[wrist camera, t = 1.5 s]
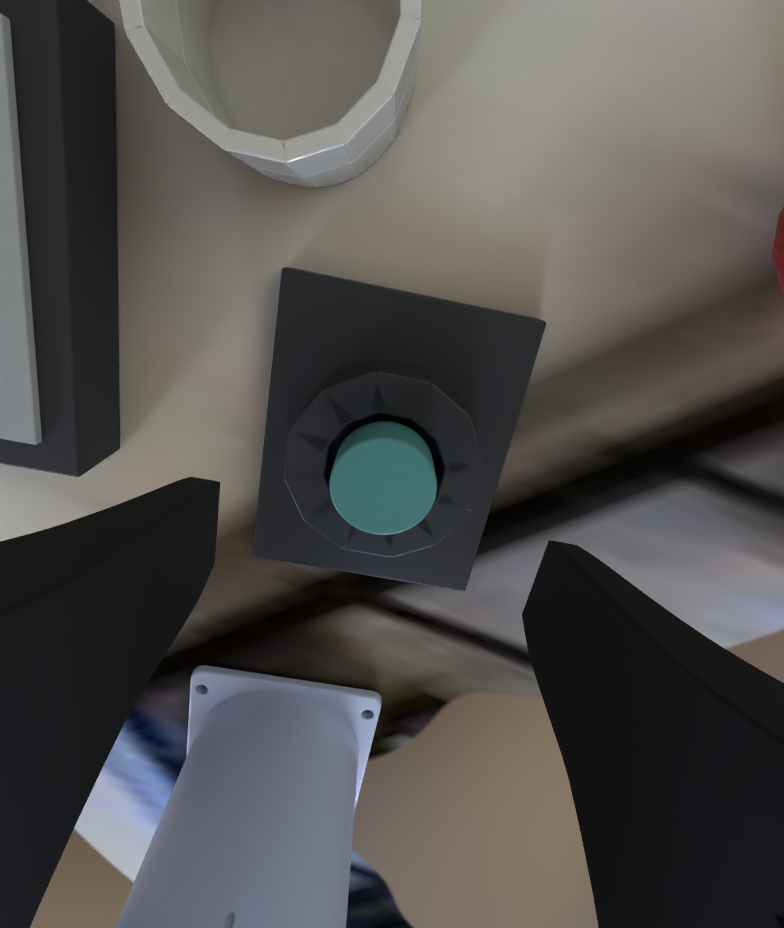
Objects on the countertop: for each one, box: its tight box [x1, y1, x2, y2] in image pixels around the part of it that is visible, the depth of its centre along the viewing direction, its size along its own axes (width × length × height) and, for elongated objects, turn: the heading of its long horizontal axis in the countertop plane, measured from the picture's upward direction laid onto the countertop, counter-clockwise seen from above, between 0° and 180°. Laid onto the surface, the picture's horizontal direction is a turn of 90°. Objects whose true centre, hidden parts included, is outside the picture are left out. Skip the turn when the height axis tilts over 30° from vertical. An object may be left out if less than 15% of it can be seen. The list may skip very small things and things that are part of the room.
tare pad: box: [253, 267, 546, 591], centre depth 16 cm, size 10×8×2 cm
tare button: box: [329, 421, 437, 535], centre depth 15 cm, size 3×3×2 cm
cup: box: [119, 0, 422, 188], centre depth 11 cm, size 6×6×4 cm
